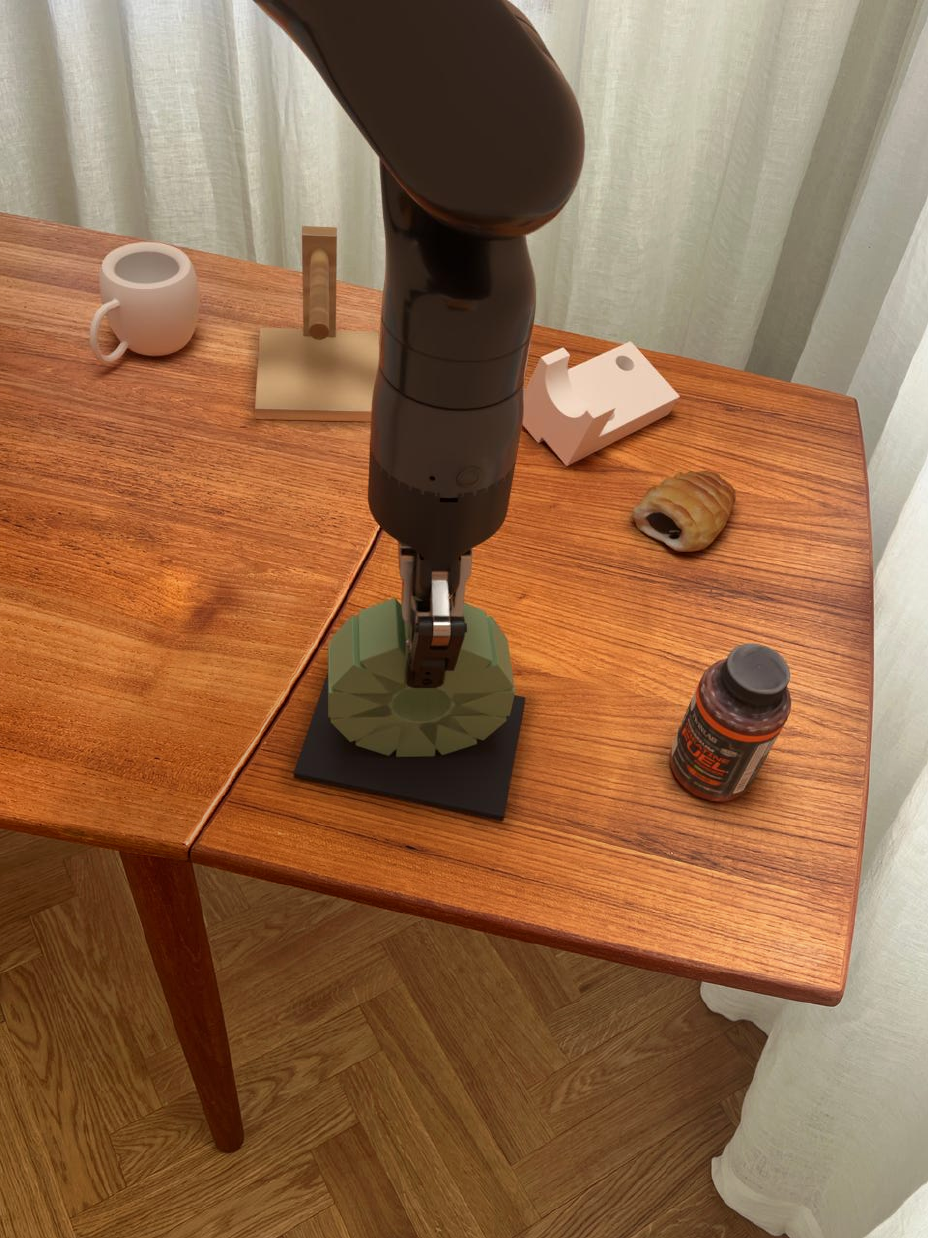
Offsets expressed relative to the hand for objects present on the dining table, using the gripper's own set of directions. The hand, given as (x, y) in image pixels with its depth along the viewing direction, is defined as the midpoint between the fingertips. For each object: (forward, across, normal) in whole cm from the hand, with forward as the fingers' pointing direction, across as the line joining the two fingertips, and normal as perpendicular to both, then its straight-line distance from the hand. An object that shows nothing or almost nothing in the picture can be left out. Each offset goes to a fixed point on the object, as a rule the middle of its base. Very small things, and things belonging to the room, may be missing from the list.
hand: (421, 652), depth 69 cm
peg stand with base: (+9, -40, -6) cm, 41 cm away
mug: (+9, -44, -22) cm, 50 cm away
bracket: (+9, -34, +19) cm, 40 cm away
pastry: (+9, -22, +24) cm, 33 cm away
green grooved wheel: (+3, 0, 0) cm, 3 cm away
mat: (+9, 0, 0) cm, 9 cm away
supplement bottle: (+9, +3, +20) cm, 23 cm away
